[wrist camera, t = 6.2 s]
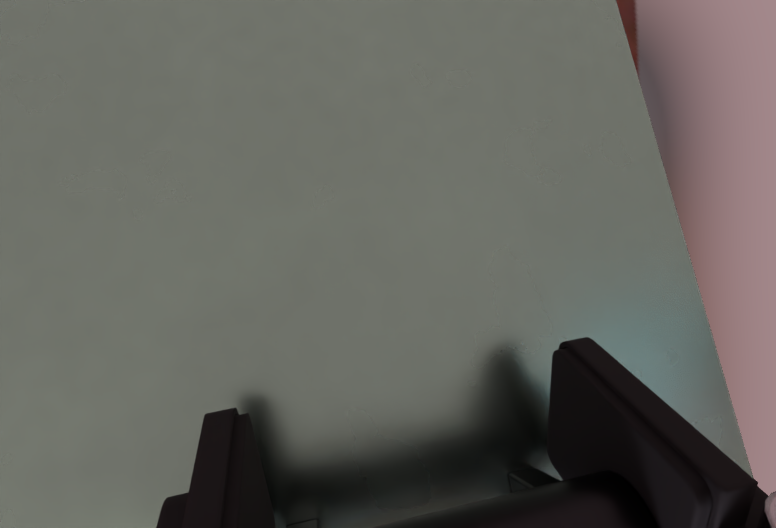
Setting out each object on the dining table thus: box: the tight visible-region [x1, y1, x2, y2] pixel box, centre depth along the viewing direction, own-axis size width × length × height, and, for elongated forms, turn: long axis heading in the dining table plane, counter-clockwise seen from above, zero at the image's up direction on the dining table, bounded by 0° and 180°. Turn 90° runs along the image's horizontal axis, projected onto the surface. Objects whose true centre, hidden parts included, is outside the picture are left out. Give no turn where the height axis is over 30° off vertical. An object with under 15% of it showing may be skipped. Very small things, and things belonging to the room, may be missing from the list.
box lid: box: [0, 0, 754, 528], centre depth 10 cm, size 18×17×5 cm
